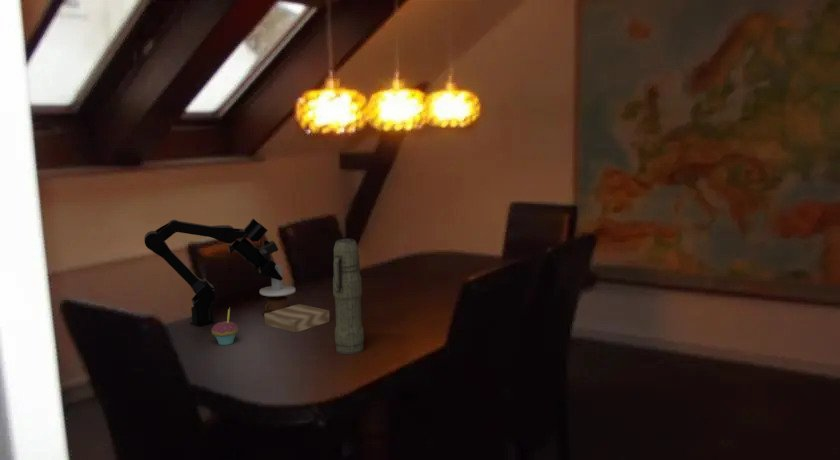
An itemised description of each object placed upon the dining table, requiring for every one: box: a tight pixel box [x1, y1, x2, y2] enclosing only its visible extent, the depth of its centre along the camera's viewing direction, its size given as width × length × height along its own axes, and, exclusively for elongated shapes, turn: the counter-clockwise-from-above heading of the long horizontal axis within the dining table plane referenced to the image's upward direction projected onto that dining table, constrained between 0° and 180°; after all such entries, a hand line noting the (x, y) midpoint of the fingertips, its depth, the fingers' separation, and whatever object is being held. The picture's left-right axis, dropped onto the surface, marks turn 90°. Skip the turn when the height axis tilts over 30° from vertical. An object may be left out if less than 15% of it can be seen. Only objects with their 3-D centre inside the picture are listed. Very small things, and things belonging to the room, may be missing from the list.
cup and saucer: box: [261, 295, 291, 315], centre depth 275 cm, size 12×12×6 cm
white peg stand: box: [259, 264, 296, 297], centre depth 273 cm, size 13×13×10 cm
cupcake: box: [211, 307, 240, 346], centre depth 241 cm, size 9×8×12 cm
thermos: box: [332, 238, 365, 355], centre depth 230 cm, size 9×12×35 cm
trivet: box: [263, 303, 330, 333], centre depth 262 cm, size 16×16×4 cm
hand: (280, 278), depth 273 cm, fingers closed on white peg stand, 4 cm apart
